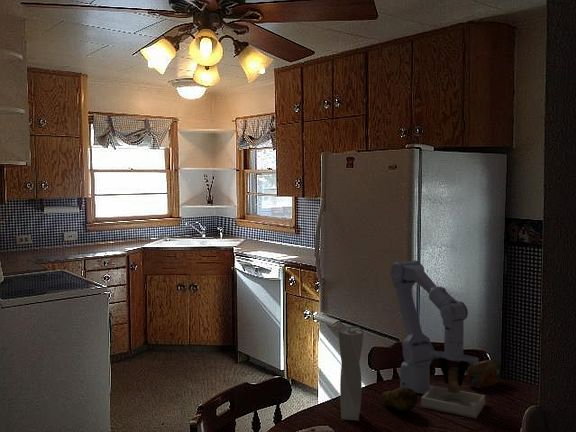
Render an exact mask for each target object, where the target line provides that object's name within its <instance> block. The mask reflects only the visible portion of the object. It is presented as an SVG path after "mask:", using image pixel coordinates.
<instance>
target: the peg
mask: <svg viewBox="0 0 576 432" xmlns="http://www.w3.org/2000/svg"><path fill="white" fill-rule="evenodd" d="M458 380H459V371H458V367H455V366H454V367H453V366H452V367H451V366H449V368H448V383H447V388H448V391H449V392H451V393H459V392H460V391H461V390H460V387H461V386H459V385H458Z"/></svg>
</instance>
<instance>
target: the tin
mask: <svg viewBox="0 0 576 432" xmlns="http://www.w3.org/2000/svg"><path fill="white" fill-rule="evenodd" d="M501 367H502V366H501V365H500V363H499V362H498V361H496V360H492V359H487V360H482V361H478V365H473V364H469V366H468V368H467V370H466V372H465V377H466V378H465V379H466V382H467V384H468V385H469V386H471V387H473V388H476V389H481V388H482V387H483V388H486V387H490V386H494V385H496V384H498V383H499V381H500V379H501V376H502V368H501ZM483 388H482V389H483Z"/></svg>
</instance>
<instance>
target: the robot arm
mask: <svg viewBox="0 0 576 432" xmlns="http://www.w3.org/2000/svg"><path fill="white" fill-rule="evenodd" d="M424 267H425V266H424V265H423V264H421V262H420V261H419V260H411V261H394V262H393V263H392V265H391V268H390V271H389V273H390V277H391V281H392V286H393V287H394V291H395V292H394V293H395V295H396V300H397V304H398V308H399V312H400V316H401V318H402V323H403V327H404V330H405V335H406V337H405V338H404V340H403V341H402V343H401V345H402V346H401V347H402V357H403V360H404V361H403V362H402V363H401V365H400V369H399V370H400V371H399V373H400V374H399V375H400V376H399V379H400V380H399V382H400V383H399V388H402V387H403V388H410V389H412V390H413V391H414V392H415V393H416V394H422V395H424V394H425V393H426V392H427V391H428V390H429V389H430V388H431V387H432V386H433V385H430V365H431V364H432V361H434V359H438V361H437V364H438V366H439V368H440V371H441V372H442V376H443V379H444V384H448V368H449V367H450V362H456V363H457V362H459V363H458V364H457V368H458V371H459V380H458V385H459V386H460V387H462V386H463V382H464V377H465V376H466V371H467V368H468V367H469V366H470V365H471V364H473V365H478V362H479V357H477V356H472V355H469V354H464V337H465V336H464V330H465V329H464V327H465V326H464V324H465V323H464V322H465V320H466V319H467V318H468V315H469V311H468V308H467V305H466V304H465V303H464V302H462V301H458V300H456V299H455V298H454V297H453V296H452V295H451V294H449V293H448V291H447V289H446V288H445V287H442V286H437V285H436V284H435V282H434V281H433V280H432V279H431V278H430V277H429V275H428V274H427V273H426V271H425V268H424ZM416 284H418V285H419V286H420V287H421V288H422V289H423V290H424V291H426V292H427V293H428V299H429V300H430V301H431V303H432V304H434V306H435V307H436V308H437V309H438V310H439V314H440V317H441V319H442V325H443V327H444V344H443V345H444V346H443V347H444V348H443V349H444V351H440V350H435V348H434V345H433V344H432V343H431V340H430V339H431V338H429V336H427V335H425V334H424V333H423V330H422V327H421V322H420V320H419V317H418V316H419V315H418V312H417V307H416V305H415V302H414V298H413V294H412V287H413V286H415V285H416Z"/></svg>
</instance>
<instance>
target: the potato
mask: <svg viewBox="0 0 576 432" xmlns="http://www.w3.org/2000/svg"><path fill="white" fill-rule="evenodd" d="M381 401H382V403H383V404H384V405H386V406H387V407H391V408H392V409H395V410H398V411H412V410H413V409H414V408H415V407H416V406H417V405H418V403H419V399H418V395H417V393H416V392H414V391H413V390H412V389H410V388H403V387H402V388H400V387H398V388H395V389H393V390H392V389H391V390H387V391H384V392H382V394H381Z"/></svg>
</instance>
